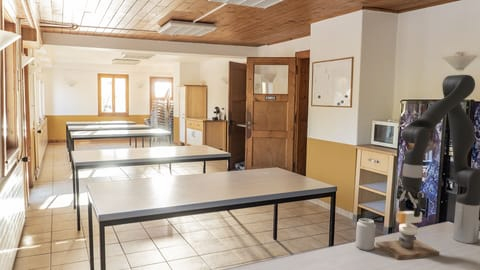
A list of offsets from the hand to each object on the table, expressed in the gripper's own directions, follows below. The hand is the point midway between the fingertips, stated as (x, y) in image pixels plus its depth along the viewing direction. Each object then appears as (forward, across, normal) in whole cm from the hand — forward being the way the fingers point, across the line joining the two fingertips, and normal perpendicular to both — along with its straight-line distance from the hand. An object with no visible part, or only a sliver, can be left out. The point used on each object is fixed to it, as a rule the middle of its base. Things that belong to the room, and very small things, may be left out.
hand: (409, 213), depth 156 cm
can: (+16, +6, +16) cm, 23 cm away
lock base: (+16, 0, 0) cm, 16 cm away
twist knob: (+8, 0, 0) cm, 8 cm away
